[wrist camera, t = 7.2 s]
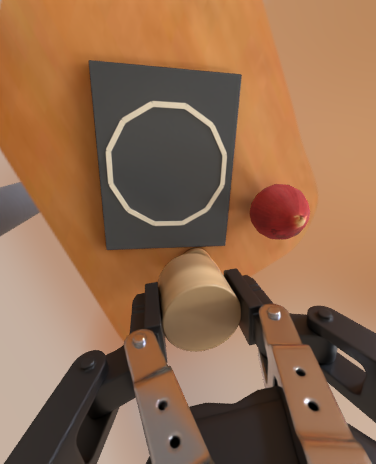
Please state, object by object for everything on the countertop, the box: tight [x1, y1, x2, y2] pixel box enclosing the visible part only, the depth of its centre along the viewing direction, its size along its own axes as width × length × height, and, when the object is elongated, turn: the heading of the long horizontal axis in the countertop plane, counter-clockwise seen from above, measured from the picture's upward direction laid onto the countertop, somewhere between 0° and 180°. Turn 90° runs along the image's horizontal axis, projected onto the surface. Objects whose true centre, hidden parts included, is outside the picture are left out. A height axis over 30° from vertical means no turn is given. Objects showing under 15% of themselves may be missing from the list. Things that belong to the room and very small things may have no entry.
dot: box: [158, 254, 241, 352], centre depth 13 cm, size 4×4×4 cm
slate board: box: [89, 60, 242, 250], centre depth 24 cm, size 14×18×1 cm
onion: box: [250, 184, 310, 239], centre depth 24 cm, size 6×6×8 cm
